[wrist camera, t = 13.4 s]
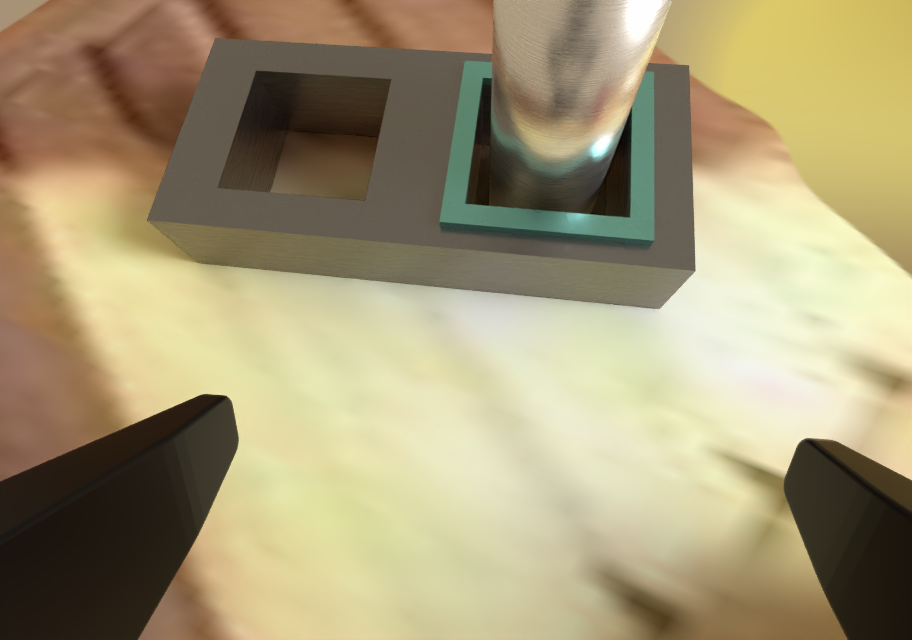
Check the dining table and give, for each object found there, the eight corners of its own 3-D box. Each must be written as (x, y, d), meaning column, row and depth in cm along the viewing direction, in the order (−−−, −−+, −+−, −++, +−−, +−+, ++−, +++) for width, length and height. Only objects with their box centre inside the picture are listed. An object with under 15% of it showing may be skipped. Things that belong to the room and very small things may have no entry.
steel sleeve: (517, 264, 24) (554, 13, 11) (472, 184, 25) (462, -112, 13) (610, 224, 24) (742, -60, 12) (560, 147, 26) (631, -172, 14)
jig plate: (198, 262, 25) (140, 215, 20) (251, 100, 28) (211, 30, 24) (659, 308, 23) (699, 266, 18) (658, 128, 26) (692, 58, 22)
